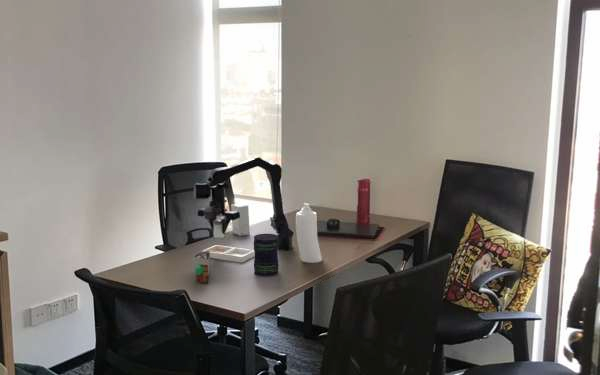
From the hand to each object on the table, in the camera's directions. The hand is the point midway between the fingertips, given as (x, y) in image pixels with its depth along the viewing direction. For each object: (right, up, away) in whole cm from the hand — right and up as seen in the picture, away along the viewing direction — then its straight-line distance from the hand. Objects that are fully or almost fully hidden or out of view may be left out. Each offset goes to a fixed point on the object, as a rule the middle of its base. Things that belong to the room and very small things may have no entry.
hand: (218, 233), depth 269 cm
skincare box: (+6, -3, +38) cm, 39 cm away
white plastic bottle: (+39, -11, -6) cm, 41 cm away
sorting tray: (+4, -10, 0) cm, 11 cm away
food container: (-3, -16, -32) cm, 36 cm away
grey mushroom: (0, -1, 0) cm, 2 cm away
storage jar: (+22, -14, -23) cm, 35 cm away
